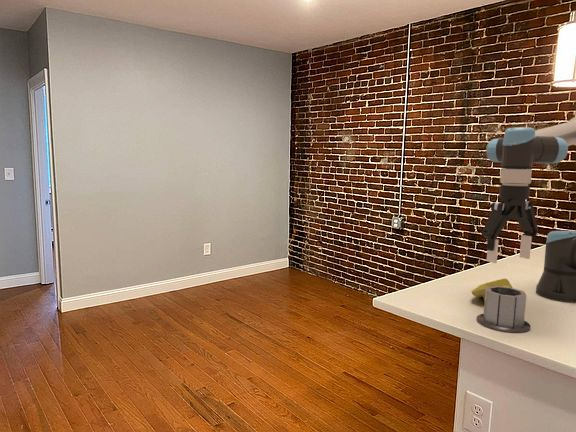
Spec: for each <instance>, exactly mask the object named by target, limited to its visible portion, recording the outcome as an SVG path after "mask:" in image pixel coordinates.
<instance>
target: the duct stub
mask: <svg viewBox="0 0 576 432" xmlns="http://www.w3.org/2000/svg"><path fill="white" fill-rule="evenodd" d="M475 318H476V321H477V323H478V324H479V325H481V326H483V327H484V328H487V329H490V330H493V331H498V332H501V333H507V334H509V333H511V334H522V333H528V332H530V331H531V328H532V327H531V324H530V323H529V322H528V321H526V320H524V326H523V327H520V328H516V329H510V328H503V327H498V326H494V325H492V324H489V323H487V322H485V321H484V313H480V314H478V315H477V316H476V317H475Z"/></svg>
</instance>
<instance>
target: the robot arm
mask: <svg viewBox="0 0 576 432" xmlns="http://www.w3.org/2000/svg"><path fill="white" fill-rule="evenodd" d="M503 134H504V135H503V137H498V138H494V139H491V140H490V141H489V142H488V144H487V145H486V149H485V151H486V157H487V158H488V159H489V161H491V162H492V163H499V164H501V169H500V170H501V171H500V181H499V183H501V184H500V185H499V189H498V191H499V192H498V197H499V199H501V202H497V201H496V202H492V206H491V210H490V213H489V216H488V217H487V221H486V222H485V225H484V227H483V230H482V232H481V236H482V237H483V238H486V239H487V240H486V262H488V263H493V264H497V263H498V254H499V253H498V252H499V240H500V239H498V236H499V234H500V233H501V232H502V230H503V229H504V227H505V226H506V224H507V223H508V222H509V221H510V220H511V219H516V221H517V223H518V225H519V227H520V229H521V231H522V233H523V234H521V235H520V249H519V258H523V259H527V260H530V259H531V249H532V248H531V247H532V244H533V237H537V235H538V233H539V226H538V224H537V219H536V213H535V211H534V202H533V201H528V200H529V199H530V193H531V187H530V186H529V185H530V184H531V183H532V174H533V173H532V171H533V164H547V165H548V164H549V165H552V164H558V163H560V162H563V160H564V159H566V157H567V155H568V151H569V146H576V116H574V117H572V118H571V119H569V120H568V121H567V122H564V123H560V124H556V125H552V126H547V127H544V128H539V129H537V130H536V129H535V128H533V127H525V126H524V127H523V126H521V127H518V126H517V127H508V128H507V129H505V130H504V133H503ZM543 264H544V265H543V272H542V274H541V276H540V279H539V280H538V283H537V284H536V286H535V293H536V295H538V296H540V297H542V298H546V299H549V300H553V301H559V302H563V303H565V302H566V303H576V230H552V231H549V233H547V236H546V242H545V253H544V263H543Z"/></svg>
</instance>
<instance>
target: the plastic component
mask: <svg viewBox="0 0 576 432" xmlns="http://www.w3.org/2000/svg"><path fill="white" fill-rule="evenodd" d="M491 286H502V287H510V288H514V287H513V286H512V284H511V283H510V281H509V279H507V278H501V279H496V280H493V281H490V282H486V283H483V284H480V285H478V286H477V287H475V288H473V289H471V294H472V296H474V297H476V298H478V299H479V298H483V300H484V302H485V292H486V287H491Z"/></svg>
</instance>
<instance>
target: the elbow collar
mask: <svg viewBox="0 0 576 432" xmlns="http://www.w3.org/2000/svg"><path fill="white" fill-rule="evenodd" d="M526 303H527V294H526V292H525V291H524V290H521V289H517V288H514V287H513V288H510V287H502V286H491V287H486V292H485V301H484V305H483V307H484V308H483V314H484V321H485V322H487V323H489V324H492V325H494V326H498V327H503V328H510V329H516V328H520V327H523V326H524V321H525V314H526V313H525V312H526V306H527V305H526Z"/></svg>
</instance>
